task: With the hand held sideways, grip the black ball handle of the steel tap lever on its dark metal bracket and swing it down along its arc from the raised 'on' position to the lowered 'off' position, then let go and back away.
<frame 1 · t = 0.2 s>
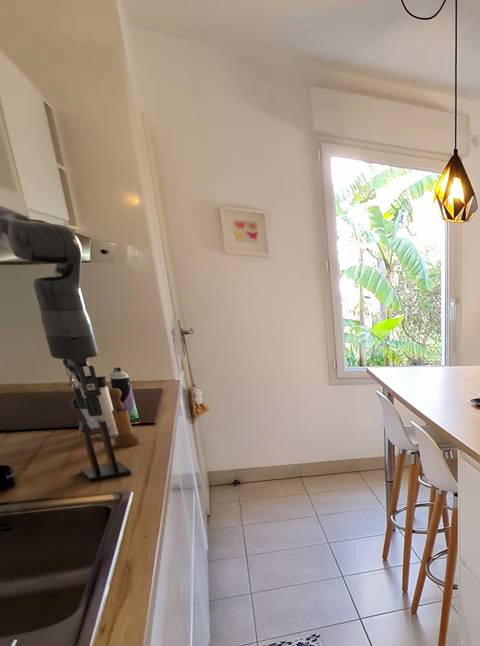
hand: (90, 412, 116), 25 cm above the worktop, tool pointing down, fingers open, 8 cm apart
beverage can: (123, 418, 207), on the worktop
tap lever: (86, 414, 149), point 16 cm above the worktop, hinge at 28.0°
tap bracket: (106, 473, 151), on the worktop
spray can: (130, 423, 201), on the worktop
travel mug: (109, 436, 184), on the worktop
wooden pepper mill: (128, 444, 177), on the worktop
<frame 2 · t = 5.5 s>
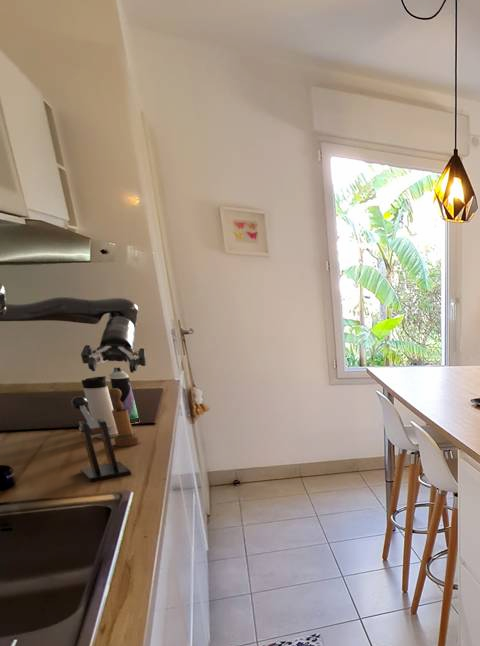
hand: (112, 369, 150), 27 cm above the worktop, tool tilted 70°, fingers open, 8 cm apart
nothing on the worktop moved.
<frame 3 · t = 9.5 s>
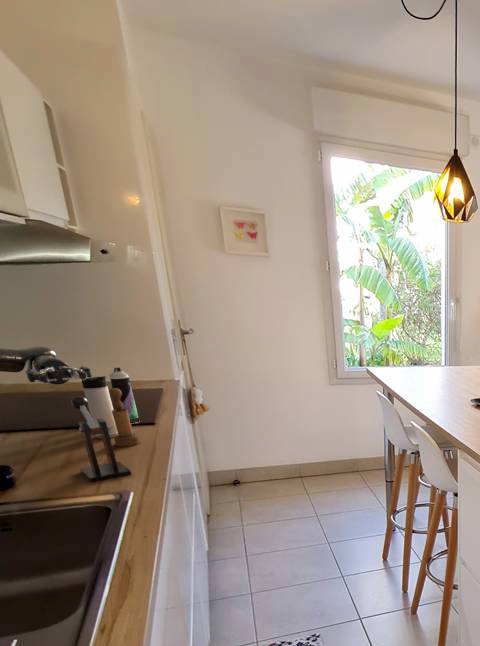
hand: (64, 377, 156), 23 cm above the worktop, tool horizontal, fingers open, 8 cm apart
nothing on the worktop moved.
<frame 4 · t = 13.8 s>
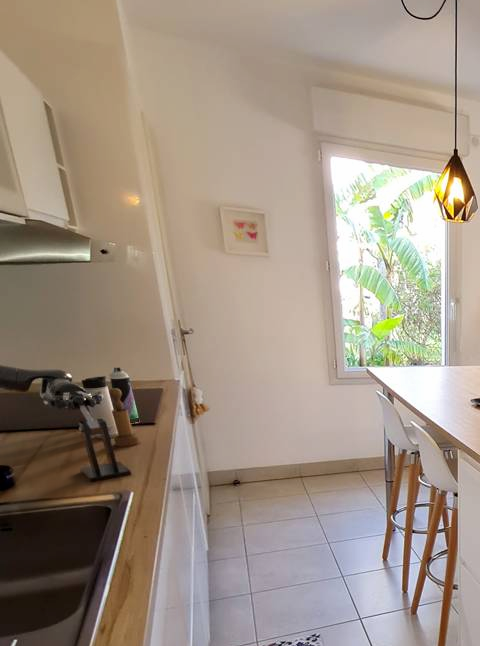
hand: (82, 404, 149), 18 cm above the worktop, tool horizontal, fingers closed on tap lever, 3 cm apart
tap lever: (86, 414, 149), point 16 cm above the worktop, hinge at 28.0°, touching gripper
everything else where it was.
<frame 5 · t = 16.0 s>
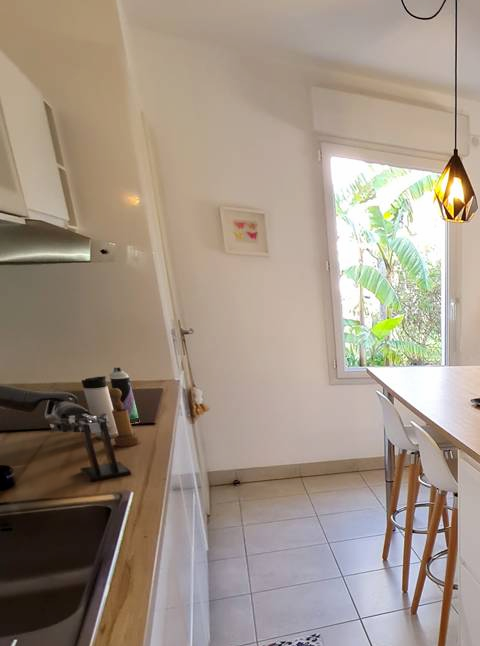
hand: (88, 427, 152), 12 cm above the worktop, tool horizontal, fingers closed on tap lever, 3 cm apart
tap lever: (89, 426, 150), point 12 cm above the worktop, hinge at -6.9°, touching gripper
everything else where it was.
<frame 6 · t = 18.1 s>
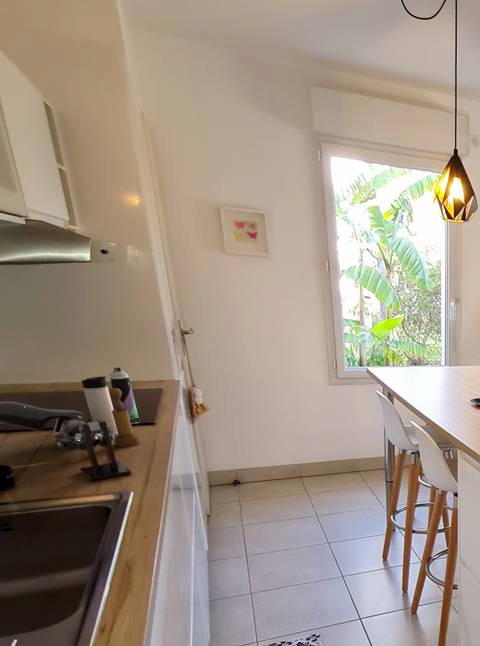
hand: (93, 444, 153), 7 cm above the worktop, tool horizontal, fingers open, 3 cm apart
tap lever: (92, 435, 151), point 10 cm above the worktop, hinge at -31.4°
everything else where it was.
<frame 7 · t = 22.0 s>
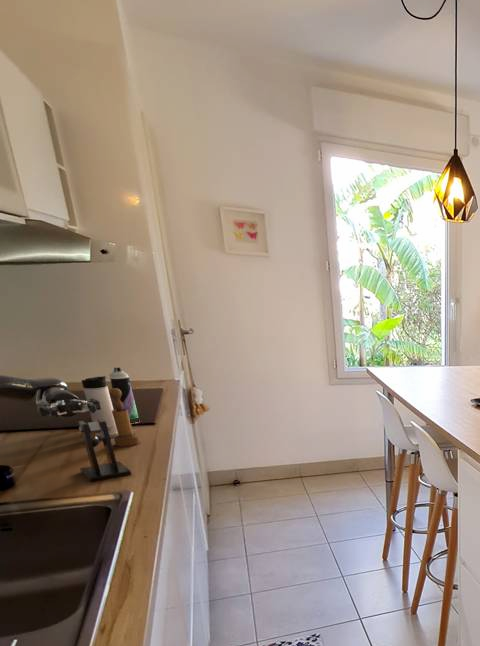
hand: (74, 411, 159), 14 cm above the worktop, tool horizontal, fingers open, 8 cm apart
nothing on the worktop moved.
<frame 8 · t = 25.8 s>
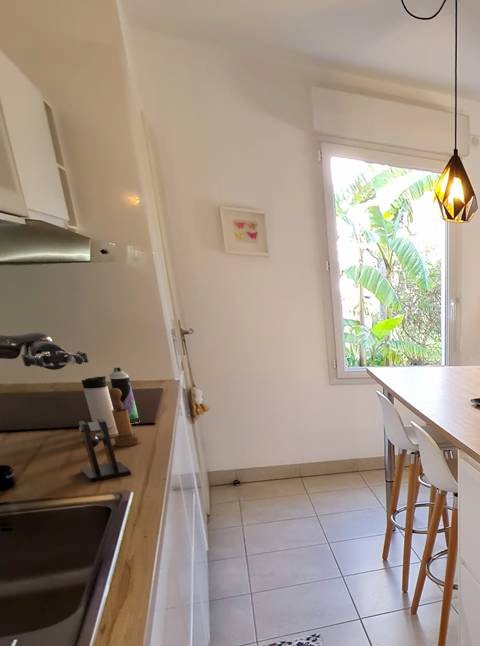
hand: (60, 361, 154), 28 cm above the worktop, tool horizontal, fingers open, 8 cm apart
nothing on the worktop moved.
at the end: tap lever at -32° (first picture: +28°); the gripper is holding nothing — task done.
